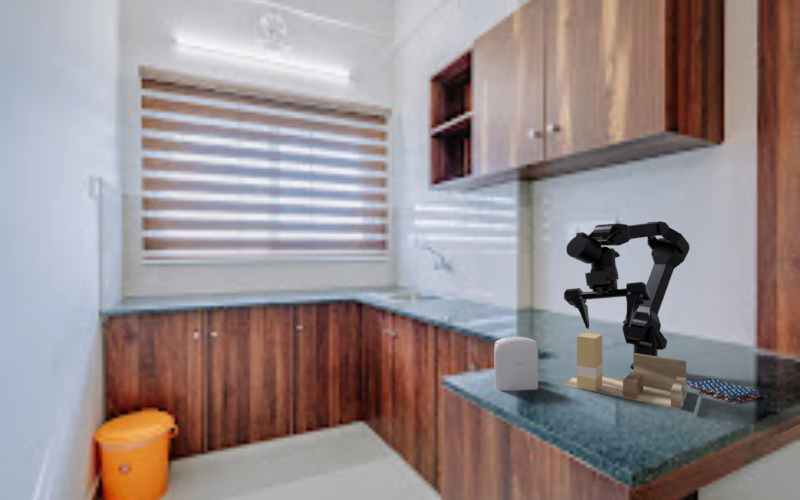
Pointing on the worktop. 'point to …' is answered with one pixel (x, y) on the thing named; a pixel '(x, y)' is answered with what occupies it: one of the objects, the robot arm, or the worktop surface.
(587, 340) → the tea box
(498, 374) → the photo printer
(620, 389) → the wooden blocks on plank
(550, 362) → the worktop surface
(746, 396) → the woven mat
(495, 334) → the worktop surface
